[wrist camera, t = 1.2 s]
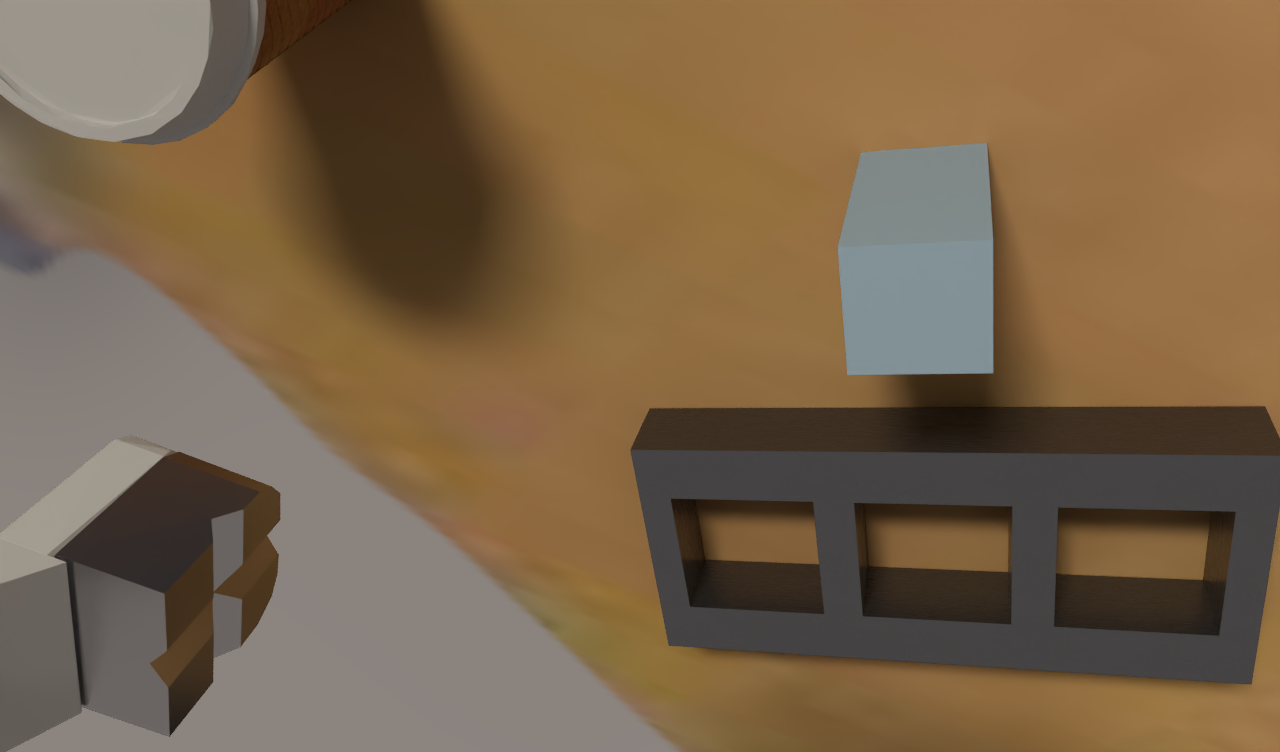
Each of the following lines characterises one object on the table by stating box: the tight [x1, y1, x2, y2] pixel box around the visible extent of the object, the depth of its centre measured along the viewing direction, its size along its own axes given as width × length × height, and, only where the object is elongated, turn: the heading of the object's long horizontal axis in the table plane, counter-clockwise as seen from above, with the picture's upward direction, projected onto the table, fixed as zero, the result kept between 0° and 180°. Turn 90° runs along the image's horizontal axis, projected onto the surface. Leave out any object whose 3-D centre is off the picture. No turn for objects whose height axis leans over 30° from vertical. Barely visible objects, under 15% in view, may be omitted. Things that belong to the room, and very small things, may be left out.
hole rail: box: [631, 407, 1280, 684], centre depth 40 cm, size 22×10×3 cm, turn 99°
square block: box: [838, 143, 993, 375], centre depth 32 cm, size 4×4×8 cm
